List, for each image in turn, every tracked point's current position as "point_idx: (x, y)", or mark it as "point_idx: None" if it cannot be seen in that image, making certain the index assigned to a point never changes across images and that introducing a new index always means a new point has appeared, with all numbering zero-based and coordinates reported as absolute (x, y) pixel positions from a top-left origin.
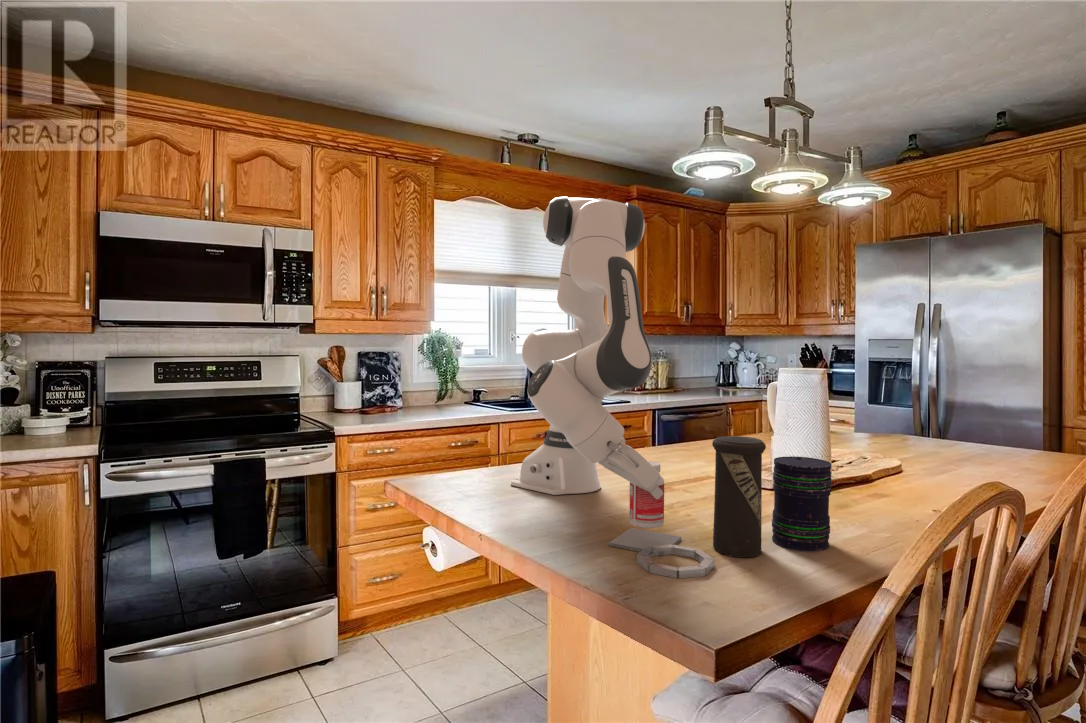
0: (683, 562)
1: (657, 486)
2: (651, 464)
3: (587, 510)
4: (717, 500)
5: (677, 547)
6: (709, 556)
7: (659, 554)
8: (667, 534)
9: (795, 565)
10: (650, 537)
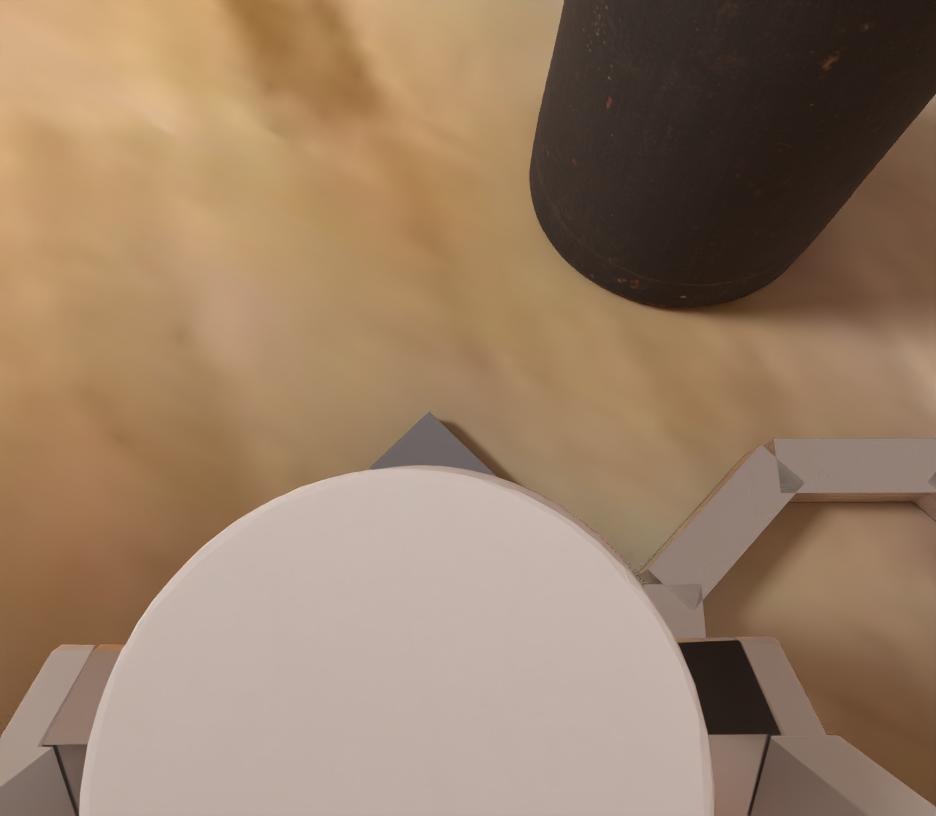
0: (841, 604)
1: (844, 746)
2: (534, 719)
3: None
4: (806, 99)
5: (713, 572)
6: (905, 445)
7: None
8: None
9: None
10: None
